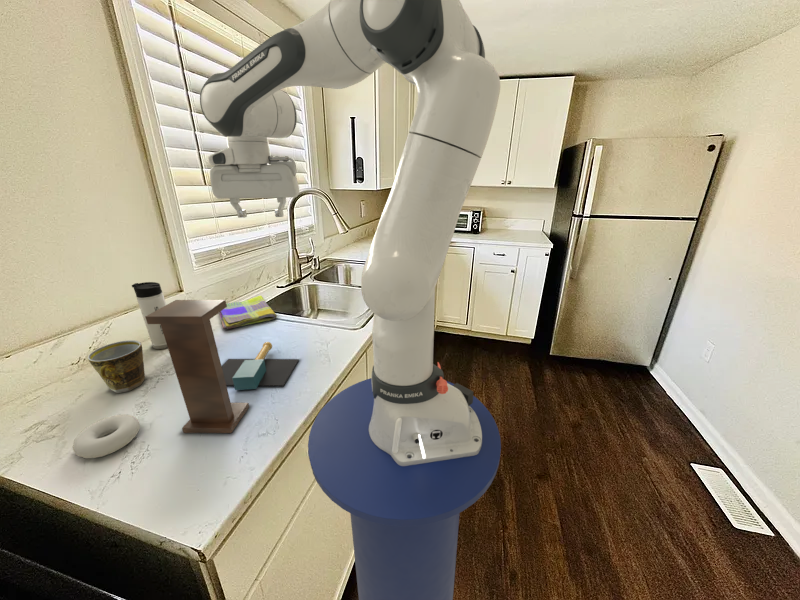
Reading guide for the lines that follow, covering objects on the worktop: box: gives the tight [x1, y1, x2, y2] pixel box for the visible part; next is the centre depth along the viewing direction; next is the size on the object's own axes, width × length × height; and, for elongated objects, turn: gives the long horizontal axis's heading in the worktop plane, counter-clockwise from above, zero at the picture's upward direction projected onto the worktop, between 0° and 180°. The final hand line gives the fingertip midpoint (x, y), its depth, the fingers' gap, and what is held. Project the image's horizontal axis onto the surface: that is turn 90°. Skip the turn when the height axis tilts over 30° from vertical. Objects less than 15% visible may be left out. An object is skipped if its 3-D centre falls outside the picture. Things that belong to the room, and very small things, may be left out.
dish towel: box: [219, 295, 278, 330], centre depth 121 cm, size 18×24×3 cm
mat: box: [221, 358, 299, 388], centre depth 86 cm, size 20×12×1 cm, turn 88°
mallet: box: [232, 341, 273, 391], centre depth 87 cm, size 5×19×4 cm, turn 4°
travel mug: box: [131, 281, 168, 350], centre depth 97 cm, size 6×7×20 cm
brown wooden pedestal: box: [145, 299, 250, 434], centre depth 65 cm, size 10×8×26 cm
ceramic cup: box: [87, 339, 146, 394], centre depth 78 cm, size 13×10×10 cm
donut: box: [72, 413, 141, 459], centre depth 64 cm, size 10×4×10 cm
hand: (261, 217), depth 81 cm, fingers open, 8 cm apart
